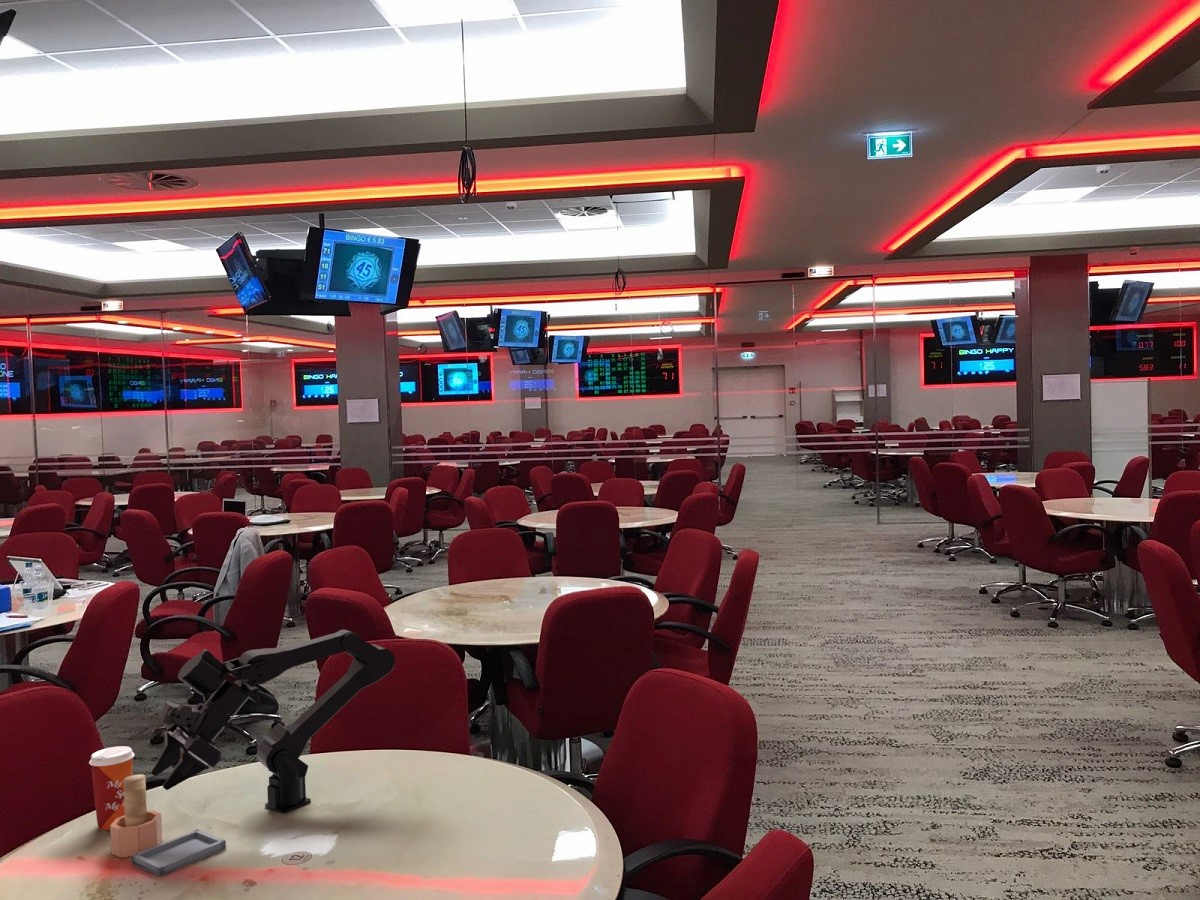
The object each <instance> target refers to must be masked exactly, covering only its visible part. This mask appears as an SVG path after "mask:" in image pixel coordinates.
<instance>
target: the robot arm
mask: <svg viewBox="0 0 1200 900" xmlns="http://www.w3.org/2000/svg"><path fill="white" fill-rule="evenodd" d="M341 653H346V654H347V655H349V656H351V657H352V658H353V660H352V661H351V663H350V666H348V667H349V668H348V669H347V671H346V673H345V674H344V675H343V676H342V677H341V678H340V679H338V681H336V683H335V684H333V685H332V686H331V687H330V688H329V689H328V690H327V691H326V692H325V693H324V694H322V696H320V697H319V698H318V699H317V700H316V701H315V702H314V703H313V704H312V705H311V706H309V708H308V709H306V710H305V712H303V713H302V714H301V715H300V716H298V718H297V719H296V720H294V721H293V722H292V723H290V724H287V725H286V726H284V725H282V724H281V723H280V722H279V723H276V725H274V726H273V728H272V729H271V730H270V731H269V732H268V733H266V734H265V735H262V736H261V739H262V741H260V743H259V744H258V745H257V748H256V750H257V751H256V756H257V760H258V761H259V762H260V764H261V765H263V766H264V767H265V768H266V769H267V770H268V771H269V772H271V773H272V775H270V776H268V785H267V790H266V791H267V802H266V803H265V804H264V807H265V808H268V809H271V810H273V811H276V812H281V813H283V814H285V813H287V812H290V811H292V810H294V809H297V808H299V807H302V806H304V805H306V804H309V803H311V802H312V799H311V798H309V797H307V791H306V788H307V787H306V776H307V773H308V770H309V765H308V764H307V763H306V762H304V761H302V760H301V758H300V757H301V756H302V754H303V752H305V751H304V750H305V749H306V747H307V745H308V742H309V740H310V739H311V738H312V737H313V736H314V735H315V734H316V733H317V732H318V731H320V729H322V728H323V727H324V726H325V725H326V724H328V722H330V720H331V719H332V718H333V717H334V716H335V715H336V714H337V713H338V712H340V710H341V709H342V708H343V707H345V706H346V705H347V704H348V703H349V702H350V701H351V700H352V699H353V698H354V697H355V696H356V695H358V693H359V692H361V690H362V689H364V688H366V687H369V686H371V685H373V684H375V683H378V682H379V681H380V680H382V679H383V678H384V677H386V676H387V675H388V674H389V675H390V673H391V672H392V671H393V670H394V668H395V666H396V665H395V663H396V662H395V661H396V658H395V655H394V652H392V651H391V650H390V649H388V648H385V647H383V646H380V645H377V644H375V643H374V644H373V643H370V642H368V641H365V640H364V639H362V638H361V637H359V636H358V635H357V634H356V633H355V632H354V631H353V632H352V631H350V630H348V629H340V630H338V631H336V632H334V633H330V634H326V635H323V636H322V635H321V636H319V637H315V638H312V639H309V640H306V641H303V642H298V643H295V644H292V645H289V646H288V645H287V646H284V647H273V648H272V647H269V648H268V647H265V648H257V649H256V648H255V649H249V650H247V651H244V652H243V653H241V656H239V657H237V658H235V659H231V660H227V661H224V662H221V661H220V660H219V659H217V658H216V657H215V655H214V654H213V653H211V652H210V651H209V650H207V649H206V648H203V649H202V651H201V652H199V653H198V654H196V655H195V656H193V657H192V658H191V659H190V660H189V659H188V660H187V661H186V662H185V663H184V664H183V666H182V667H181V669H180V670H179V672H178V674H177V678H178V679H179V680H180V681H181V682H183V683H184V684H185V685H187V686H188V687H189V688H191V689H192V690H194V691H195V692H196V693H198V694H199V695H201V696H206V695H207V694H209V695H211V696H210V697H209V698H208V699H207V701H205V703H203V702H200V703H199V702H198V704H197V705H196V706H195V707H192V706H191V705H186V704H184V703H181V704H178V703H174V702H171V701H170V702H169V701H165V702H164V705H163V707H162V710H161V711H160V714H159V716H158V720H161V723H162V724H165V725H164V728H165V729H166V730H167V731H166V730H164V731H163V734H164V738H165V739H164V740H165V744H164V746H163V748H162V750H161V752H160V754H159V757H158V758H157V760H156V762H155V764H154V766H153V768H152V770H151V771H150V773H151V775H153V776H155V777H157V776H158V775H160V774H161V773H163V772H164V771H166V770H168V769H169V768H170V767H171V766H172V765H174V764H175V766H174V768H173V770H171V772H170V773H169V775H168V777H167V778H166V780H165V781H164V783H163V785H162V788H163V789H165V790H166V791H168V790H170V789H172V788H174V787H176V786H177V785H179V784H181V783H183V782H185V781H186V780H189V779H190V778H192V777H194V776H195V775H197V774H199V773H202V772H204V771H206V770H209V769H210V768H211V767H212V768H215V767H216V766H217V765H218V763H219V762H220V761H221V760H222V751H220V750H219V749H218V748H217V747H216V746H215V744H216V742H215V741H214V740H215V739H216V738H217V737H218V735H220V733H221V732H222V730H223V729H224V728H225V729H226V730H228V729H229V728H230V727H231V726H232V724H231V723H230V721H231V720H232V719H233V718H234V716H235V715H236V714H237V713H238V712H239V711H240V709H241V708H242V707H243V706H244V704H245V703H246V702H247V701H248V700H249V699H250V700H251V701H253V702H254V703H256V704H258V703H260V701H261V700H260V688H259V687H257V686H256V685H264V684H266V683H268V682H270V681H271V680H274V679H275V678H278V677H279V676H281V675H282V674H284V673H285V672H286V671H288V670H290V669H292V668H295V667H299V666H301V665H305V664H308V663H311V662H315V661H318V660H322V659H325V658H328V657H331V656H334V655H338V654H341ZM228 675H230V676H232V677H233V678H235V679H236V680H235V681H233V680H232V679H230V678H229V677H228ZM243 680H246V681H248V682H249V683H251V684H254V685H255V686H252V687H251V686H249V684H247V683H245V682H244V681H243Z"/></svg>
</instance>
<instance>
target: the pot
mask: <svg viewBox="0 0 1200 900" xmlns="http://www.w3.org/2000/svg"><path fill="white" fill-rule="evenodd" d="M109 831H110V851H111V852H110V853H112V855H113V854H114V856H115V855H116V857H118V858H121V857H122V858H129V857H130V856H131V857H132V855H135V854H137V853H139V852H142V851H144V850H147V849H149V848H152V847H154V846H157V845H159V844H162V842H163V825H162V813H161V812H158V811H155V810H154V809H150V810H147V822H146V823H144V824H141V825H138V826H130V827H125V815H124V816H121V817H119V818H116V819H115V821H114V822H113V823H112V824H111V825H110V830H109ZM161 841H162V842H161ZM128 856H129V857H128Z"/></svg>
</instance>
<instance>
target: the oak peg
mask: <svg viewBox="0 0 1200 900" xmlns="http://www.w3.org/2000/svg"><path fill="white" fill-rule="evenodd" d="M123 782H124V807H125V827H130V826H138V825H141V824H144V823H146V822H147V811H148V810H147V786H146V775H145V774H135V775H133V774H132V776H129V777H127V778H125V779H124V780H123Z"/></svg>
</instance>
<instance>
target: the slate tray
mask: <svg viewBox="0 0 1200 900" xmlns="http://www.w3.org/2000/svg"><path fill="white" fill-rule="evenodd" d="M226 845H227V843H226V839H224V838H221V837H219V836H215V835H213V834H211V833H208V832H205V831H203V830H201V829H194V830H192V831H190V832H187V833H184V834H182V835H179V836H177V837H175V838H173V839H170V840H167V841H165V842H161V843H160V844H159V845H157V846H154V847H152V848H149V849H147V850H144V851H142V852H139V853H137V854H135V855H132V856H131V865H133V864H134V865H133V866H135V867H137V866H138V867H137V868H139V867H140V869H141V868H142V869H141V870H143V869H144V870H143V871H145V870H146V872H148V873H151V874H152V875H155V876H156V875H157V877H158V876H159V878H162V877H163V876H167V875H168V873H169V874H171V873H173V872H176V871H177V869H178V870H180V869H182V868H184V866H185V867H187V866H190V865H191V864H190V863H192V864H193V862H194V861H196V862H198V861H197V860H199V861H200V859H201V860H203V859H205V858H208V857H210V856H212V855H215V854H216V852H217V853H220V852H222V851H224V850H227V847H226ZM223 849H224V850H223ZM221 850H222V851H221ZM214 853H215V854H214ZM211 854H212V855H211ZM209 855H210V856H209ZM207 856H208V857H207ZM202 858H203V859H202ZM194 863H195V862H194ZM186 865H187V866H186ZM179 868H180V869H179ZM175 870H176V871H175ZM170 872H171V873H170ZM161 876H162V877H161Z"/></svg>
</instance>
